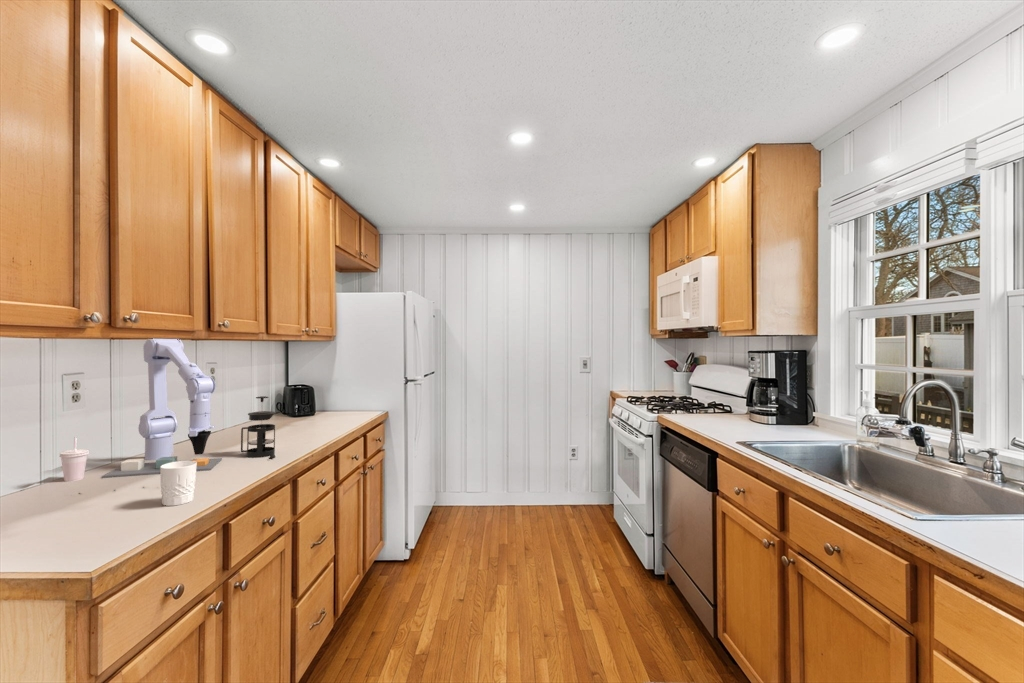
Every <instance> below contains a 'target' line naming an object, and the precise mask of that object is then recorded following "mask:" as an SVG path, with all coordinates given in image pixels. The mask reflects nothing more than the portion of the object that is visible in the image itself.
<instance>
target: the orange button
mask: <svg viewBox="0 0 1024 683" xmlns="http://www.w3.org/2000/svg"><path fill="white" fill-rule="evenodd" d="M209 459H210V458H209V457H206V458H205V457H204V458H203V457H202V458H193V459H191V460H192V461H196V462H197V466H205V465H207V464H208V463H209Z"/></svg>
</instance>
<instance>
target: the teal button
mask: <svg viewBox="0 0 1024 683" xmlns="http://www.w3.org/2000/svg"><path fill="white" fill-rule="evenodd" d="M177 461H178V456H174V455H173V456H170V457H161V458H159V459H158V460H155V462H156V469H160V466H162V465H164V464H167V463H171V462H177Z"/></svg>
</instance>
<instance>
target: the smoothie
mask: <svg viewBox="0 0 1024 683" xmlns="http://www.w3.org/2000/svg"><path fill="white" fill-rule="evenodd" d="M77 437H78V436H74V437H73V449H70V450H64V451H61V452H59V458H60V459H61V466H62V467H61V468H62V473H63V480H64V482H74V481H75V482H77V481H80V480H84V478H85V477H84V476H85V471H86V466H87V461H88V455H89V454H90V450H89V449H87V448H82V449H81V448H80V449H77V444H78V443H77V441H78V440H77Z"/></svg>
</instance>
